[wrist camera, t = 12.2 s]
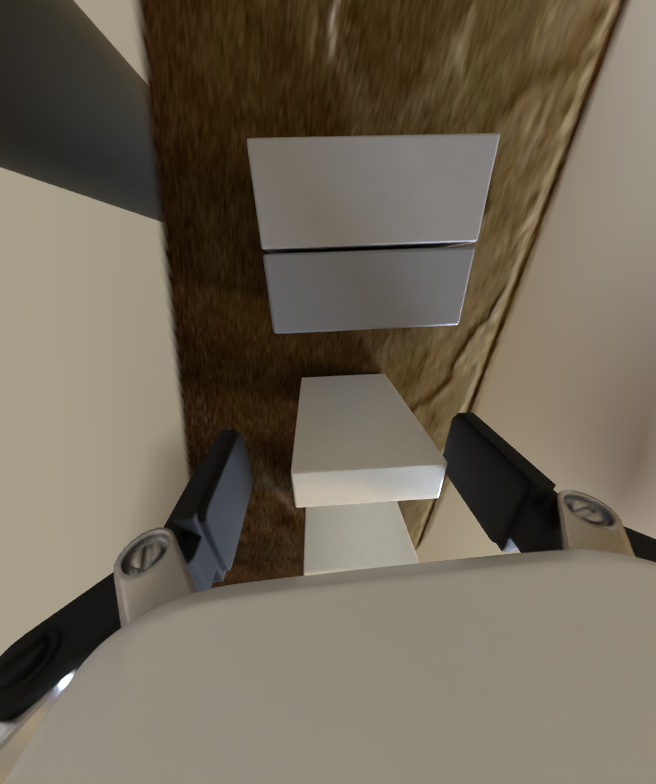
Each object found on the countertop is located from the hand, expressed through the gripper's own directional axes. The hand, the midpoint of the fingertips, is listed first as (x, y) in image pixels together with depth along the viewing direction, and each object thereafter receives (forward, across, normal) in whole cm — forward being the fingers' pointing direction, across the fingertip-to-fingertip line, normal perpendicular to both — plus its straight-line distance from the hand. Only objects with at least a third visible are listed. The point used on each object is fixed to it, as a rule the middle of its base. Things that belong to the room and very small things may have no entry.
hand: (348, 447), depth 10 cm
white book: (+7, -1, +1) cm, 7 cm away
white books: (+7, -1, +9) cm, 11 cm away
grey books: (+7, -1, -7) cm, 10 cm away
